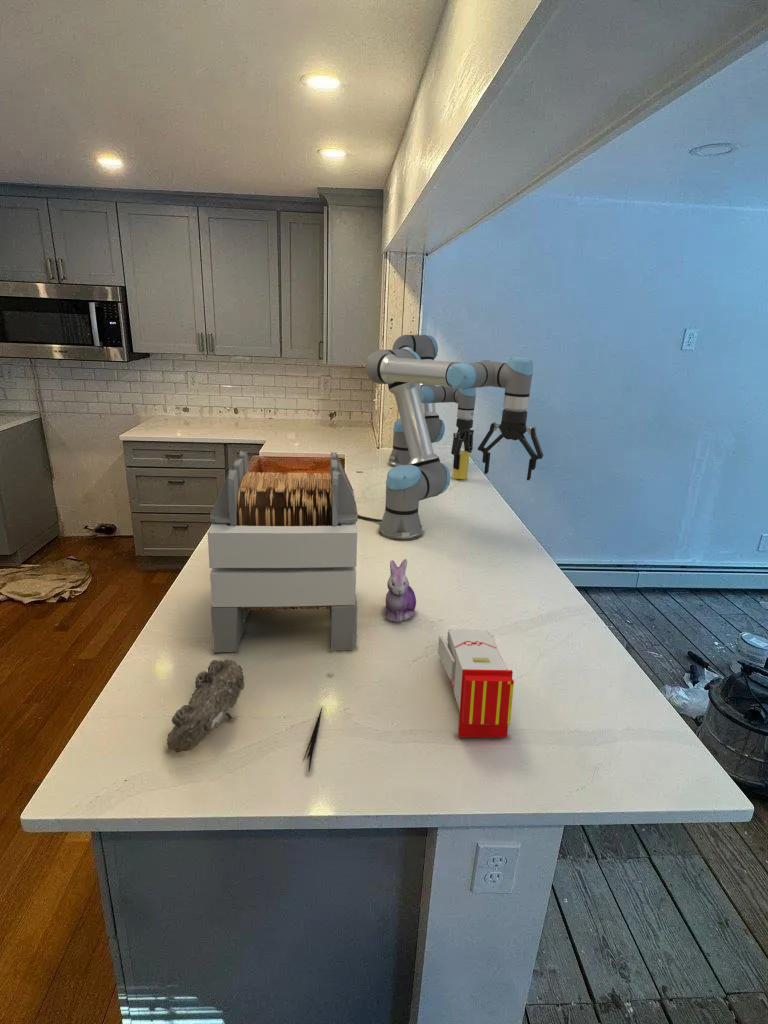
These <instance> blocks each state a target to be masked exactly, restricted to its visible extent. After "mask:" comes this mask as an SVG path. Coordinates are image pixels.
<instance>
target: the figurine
mask: <svg viewBox="0 0 768 1024" xmlns="http://www.w3.org/2000/svg"><path fill="white" fill-rule="evenodd" d="M407 567H408V559H406V558H404V559H403V560H402V561H401V563H400V565H399V566H398V565H397V563H396V562H395V561H394V560H393V559H391V560H390V561H389V570H390V576H389V578H388V579H387V589H388V591H387V592H386V594H385V595H386V596H385V607H384V615H385V616H386V620H387V621H391V622H395V623H400V622H402V621H406V620H409V619H410V618H411V617H413V616H414V615H415V610H416V606H417V597H416V593H415V591H414V590H413V587H411V586H410V582H409V579H408V577H407V574H406V571H407Z"/></svg>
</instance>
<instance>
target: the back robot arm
mask: <svg viewBox="0 0 768 1024" xmlns="http://www.w3.org/2000/svg"><path fill="white" fill-rule="evenodd" d="M393 349H408V350H412V351H414V352H416V353H417V354H418V355H419V357H420V358H421V360H435V359H437V356H438V353H439V346H438V342H437V340H436V338H435V337H434V336H432V335H427V334H403V335H401V336H399V337H397V338H396V339H395V340H394V342H393V345H392V349H391V350H393ZM418 392H419V396H420V400H421V404H422V408H423V412H424V416H425V420H426V424H427V428H428V432H429V436H430V440H431V444H434V443H438V442H440V441H442V440H443V437H444V435H445V431H446V425H445V423H444V420H443V419H441V418H440V415H439V414H438V412H437V411H436V404H442V403H443V404H444V403H445V404H447V403H455V404H457V411H456V412H457V413H456V418H457V419H456V421H455V422H456V424H455V426H456V428H457V432H453V434H452V435H453V436H452V437H453V438H452V445H451V452H450V454H451V455H453V463H454V464H453V465H452V469H453V468H454V469H459V462H460V455H459V453H460V450H461V449H462V446H463V447H464V451H468V452H469V453H470V454H471V453H472V452H473V449H474V447H473V446H474V434H475V433H474V432H475V430H474V429H472V428H473V425H474V417H475V408H476V407H475V406H476V397H477V388H469V389H465V390H459V389H454V388H452V387H447V386H437V385H428V384H420V385H419V387H418ZM393 423H394V424H393V429H392V430H393V431H392V432H393V435H392V450H391V453H390V454H389V458H388V463H387V464H388V466H391V467H392V468H393V467H396V466H400V465H403V466H404V465H408V464H409V462H410V460H411V458H410V454H409V450H408V446H407V442H406V438H405V434H404V430H403V426H402V422H401V418H400V417H399V418H398V419H396V420H395V421H394V422H393Z"/></svg>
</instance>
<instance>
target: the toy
mask: <svg viewBox="0 0 768 1024" xmlns="http://www.w3.org/2000/svg"><path fill="white" fill-rule="evenodd" d="M446 640H447V643H446V641H445V639H444V636H443V635H442V634H439V637H438V646H437V656H438V657H439V659H440V661H441V663H442V666H443V668H444V670H445V672H446V674H447V677H448V679H449V681H450V684H451V687H452V690H453V693H454V697H455V701H456V705H457V708H458V711H459V714H458V715H459V716H458V730H457V731H458V732H457V737H458V738H508V731H509V726H510V725H511V717H512V707H513V697H514V696H513V695H514V684H515V680H514V679H513V673H514V671H513V670H512V669H508V667H507V665H506V662H505V661H504V659H503V658H502V655H501V653H500V651H499V649H498V647H497V643H496V639H495V637H494V635H493V634H491V632H490V631H489V629H467V628H466V629H465V628H463V629H461V628H460V629H459V628H448V630H447V639H446Z"/></svg>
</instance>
